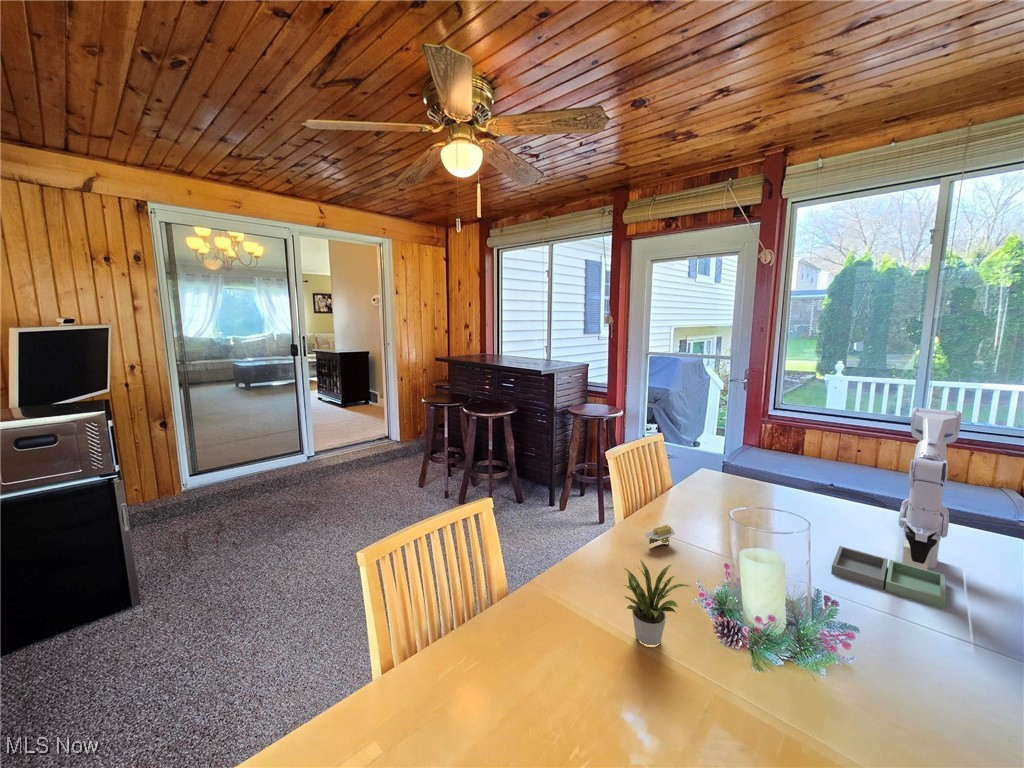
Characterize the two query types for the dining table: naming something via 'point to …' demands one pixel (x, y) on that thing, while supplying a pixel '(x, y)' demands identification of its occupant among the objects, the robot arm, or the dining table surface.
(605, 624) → the dining table surface
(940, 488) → the robot arm
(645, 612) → the house plant
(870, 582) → the tray
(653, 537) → the platform
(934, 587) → the tray
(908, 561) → the stone block
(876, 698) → the dining table surface
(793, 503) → the dining table surface
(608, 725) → the dining table surface
